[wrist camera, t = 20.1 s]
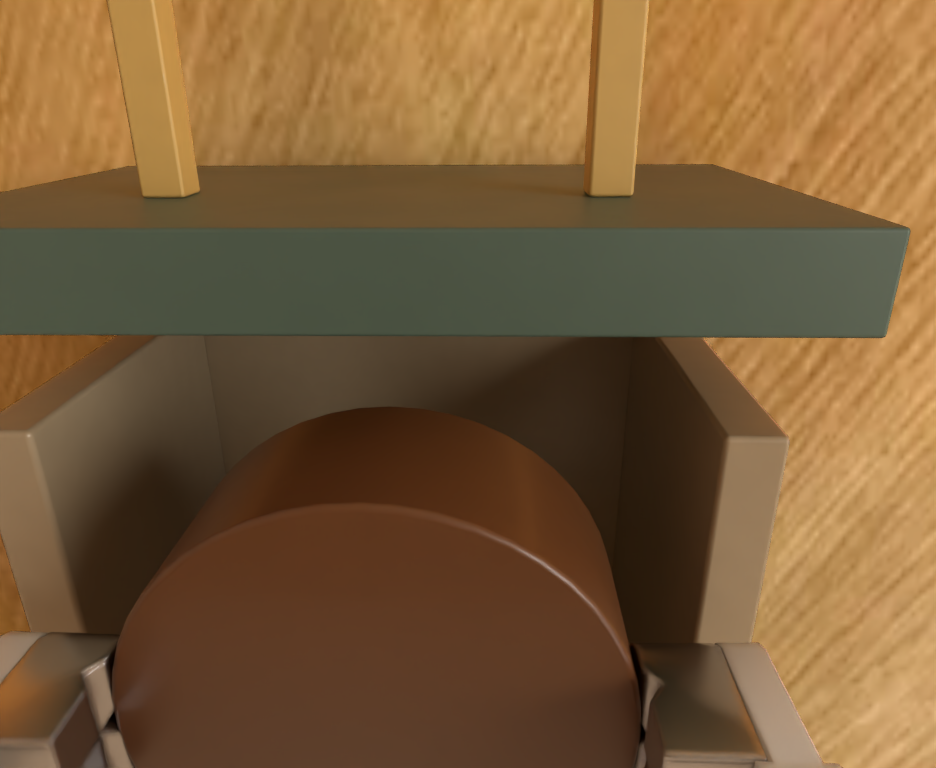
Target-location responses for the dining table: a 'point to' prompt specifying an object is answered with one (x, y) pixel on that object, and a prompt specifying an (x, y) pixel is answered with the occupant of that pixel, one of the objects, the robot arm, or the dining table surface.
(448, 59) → the dining table surface
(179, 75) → the drawer
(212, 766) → the cookie
